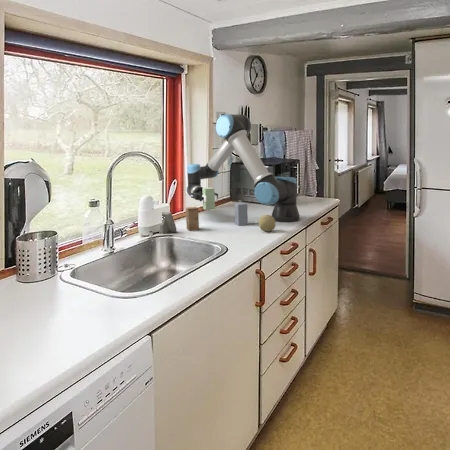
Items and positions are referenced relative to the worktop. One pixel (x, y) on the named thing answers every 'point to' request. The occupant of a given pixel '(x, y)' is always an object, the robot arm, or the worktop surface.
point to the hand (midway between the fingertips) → (211, 199)
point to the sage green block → (209, 198)
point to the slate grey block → (241, 214)
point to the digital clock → (167, 223)
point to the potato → (267, 223)
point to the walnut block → (192, 218)
